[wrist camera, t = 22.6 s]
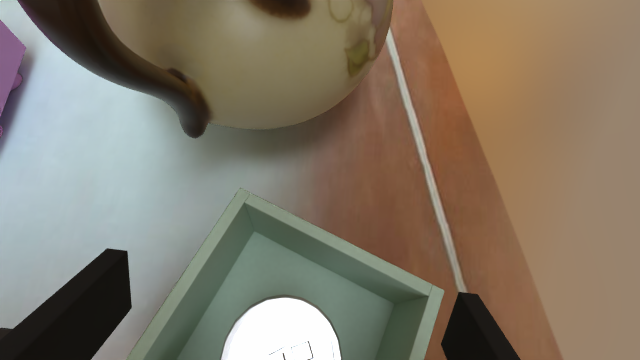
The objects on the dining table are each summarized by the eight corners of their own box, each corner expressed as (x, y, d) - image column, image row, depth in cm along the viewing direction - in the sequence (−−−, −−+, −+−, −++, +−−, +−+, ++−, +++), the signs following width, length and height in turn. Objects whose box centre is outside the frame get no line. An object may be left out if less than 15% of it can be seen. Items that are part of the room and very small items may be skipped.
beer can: (308, 298, 26) (323, 276, 15) (329, 372, 24) (365, 409, 13) (240, 320, 25) (203, 315, 14) (257, 400, 23) (229, 466, 12)
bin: (404, 299, 27) (444, 290, 20) (329, 514, 21) (350, 605, 14) (251, 221, 29) (240, 187, 22) (141, 399, 23) (77, 431, 16)
